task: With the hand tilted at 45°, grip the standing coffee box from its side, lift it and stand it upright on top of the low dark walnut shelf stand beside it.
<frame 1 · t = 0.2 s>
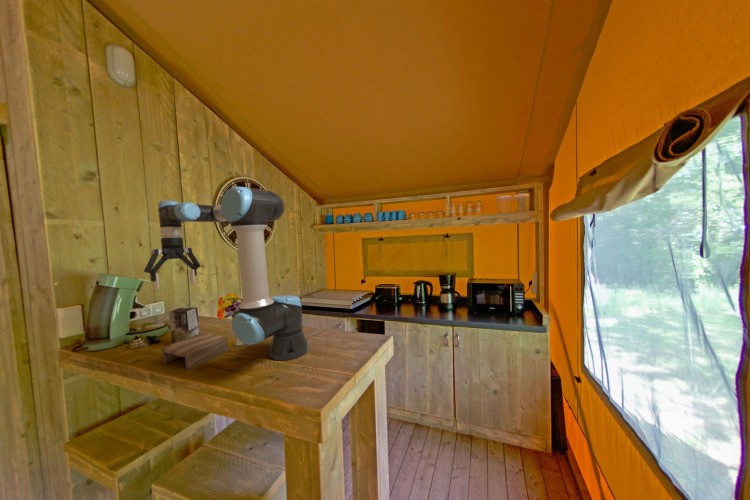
hand: (175, 286, 113), 28 cm above the table, tool pointing down, fingers open, 13 cm apart
coffee box: (186, 343, 121), on the table
walnut shelf: (197, 356, 106), on the table
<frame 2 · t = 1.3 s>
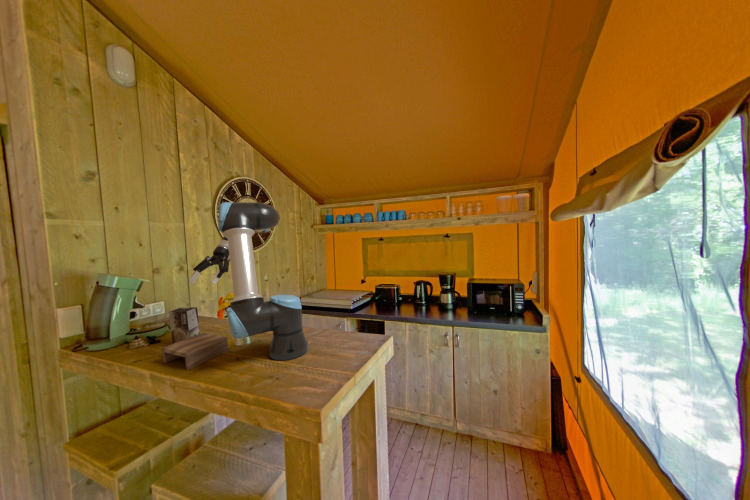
hand: (201, 283, 129), 26 cm above the table, tool tilted 45°, fingers open, 13 cm apart
nothing on the table moved.
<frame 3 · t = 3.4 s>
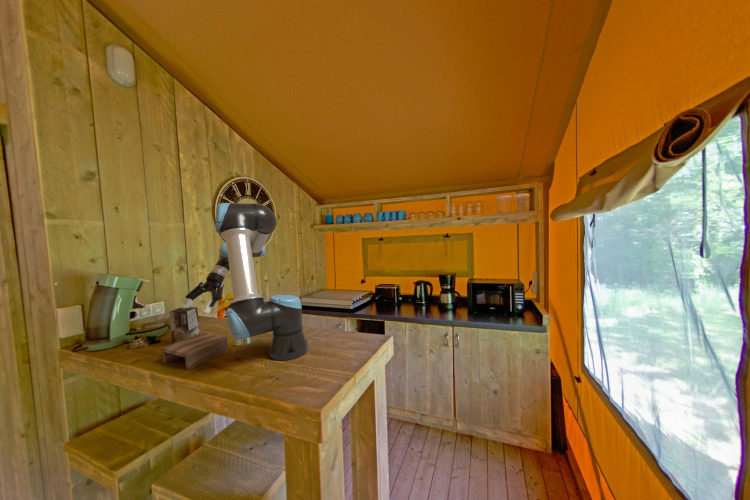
hand: (194, 312, 125), 13 cm above the table, tool tilted 45°, fingers open, 13 cm apart
nothing on the table moved.
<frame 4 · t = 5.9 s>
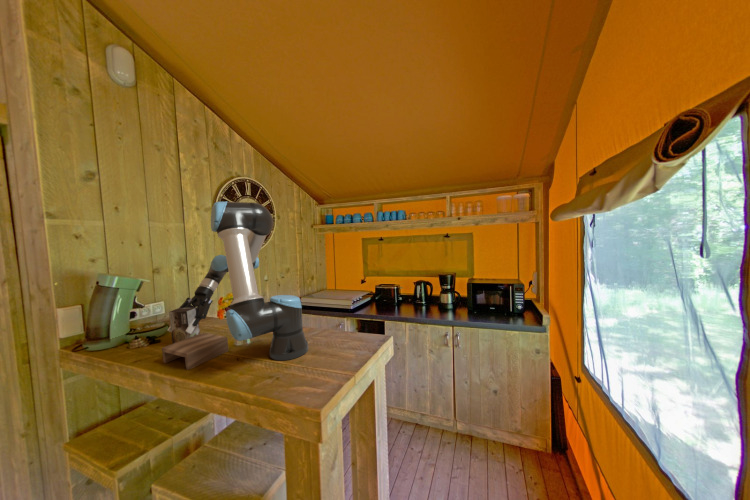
hand: (179, 332, 117), 7 cm above the table, tool tilted 45°, fingers closed on coffee box, 10 cm apart
coffee box: (187, 343, 121), on the table, touching gripper
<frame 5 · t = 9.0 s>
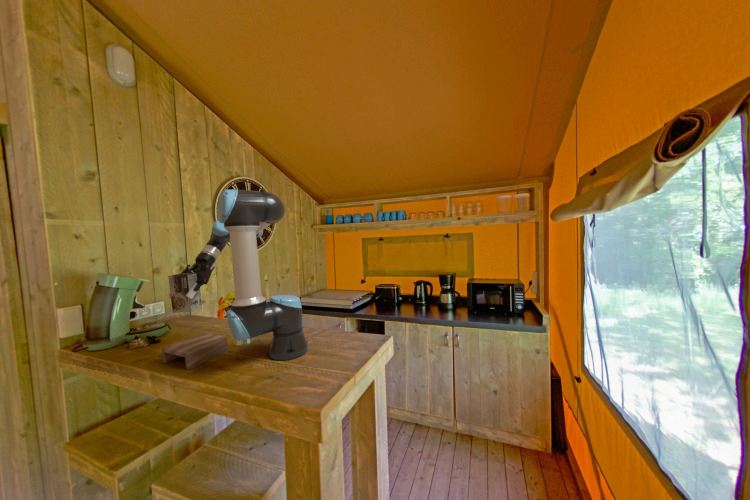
hand: (179, 297, 110), 24 cm above the table, tool tilted 45°, fingers closed on coffee box, 10 cm apart
coffee box: (187, 310, 114), point 17 cm above the table, touching gripper
when the fingers open (14 cm above the table, at t = 12.1 s): coffee box drops 1 cm, resting on walnut shelf.
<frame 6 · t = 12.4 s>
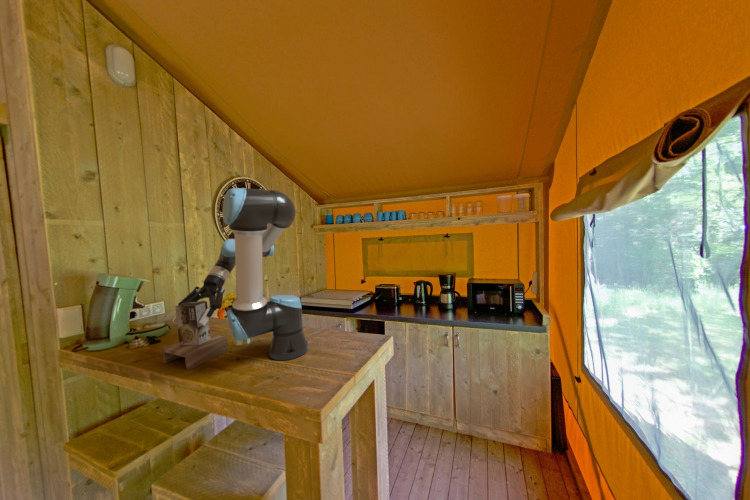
hand: (188, 323, 103), 15 cm above the table, tool tilted 45°, fingers open, 13 cm apart
coffee box: (195, 342, 106), point 6 cm above the table, touching walnut shelf
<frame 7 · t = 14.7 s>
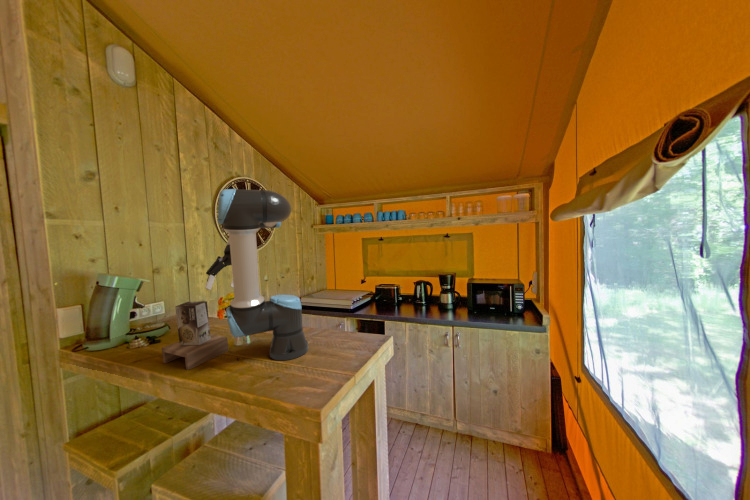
hand: (220, 288, 118), 25 cm above the table, tool tilted 35°, fingers open, 13 cm apart
nothing on the table moved.
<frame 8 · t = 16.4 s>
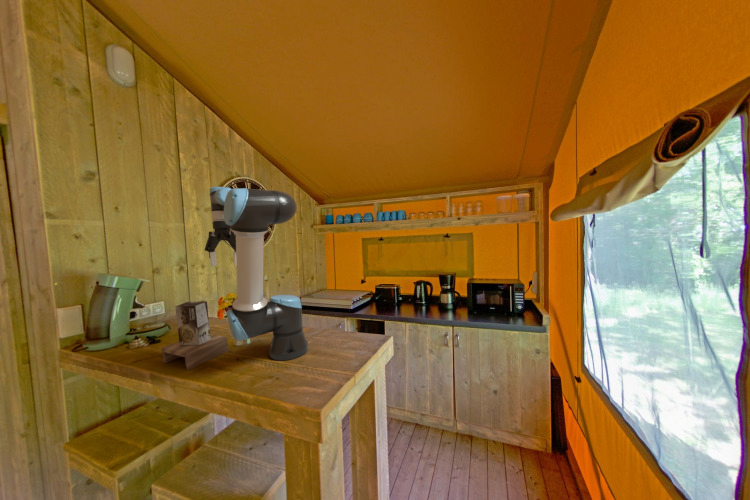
hand: (225, 265, 125), 35 cm above the table, tool pointing down, fingers open, 13 cm apart
nothing on the table moved.
at the end: coffee box inside the target area on the walnut shelf (0.3 cm from its centre), point 5.8 cm above the walnut shelf's base; coffee box tilted 0°; the gripper is holding nothing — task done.
